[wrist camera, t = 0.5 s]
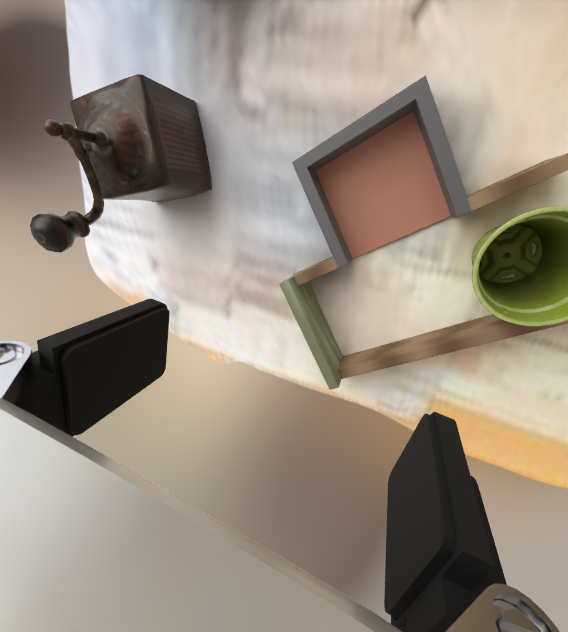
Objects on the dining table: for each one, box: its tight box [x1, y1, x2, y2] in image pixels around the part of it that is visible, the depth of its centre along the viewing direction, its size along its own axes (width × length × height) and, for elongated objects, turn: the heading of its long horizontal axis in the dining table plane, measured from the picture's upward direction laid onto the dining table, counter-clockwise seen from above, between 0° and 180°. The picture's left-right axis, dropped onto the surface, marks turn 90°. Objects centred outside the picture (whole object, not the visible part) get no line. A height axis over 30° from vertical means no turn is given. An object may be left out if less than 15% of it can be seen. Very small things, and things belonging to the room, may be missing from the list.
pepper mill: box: [30, 74, 212, 252], centre depth 33 cm, size 16×11×18 cm
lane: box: [279, 154, 568, 389], centre depth 32 cm, size 27×14×6 cm, turn 117°
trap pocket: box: [292, 76, 472, 268], centre depth 31 cm, size 13×12×4 cm
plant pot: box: [472, 206, 568, 326], centre depth 27 cm, size 9×9×9 cm
